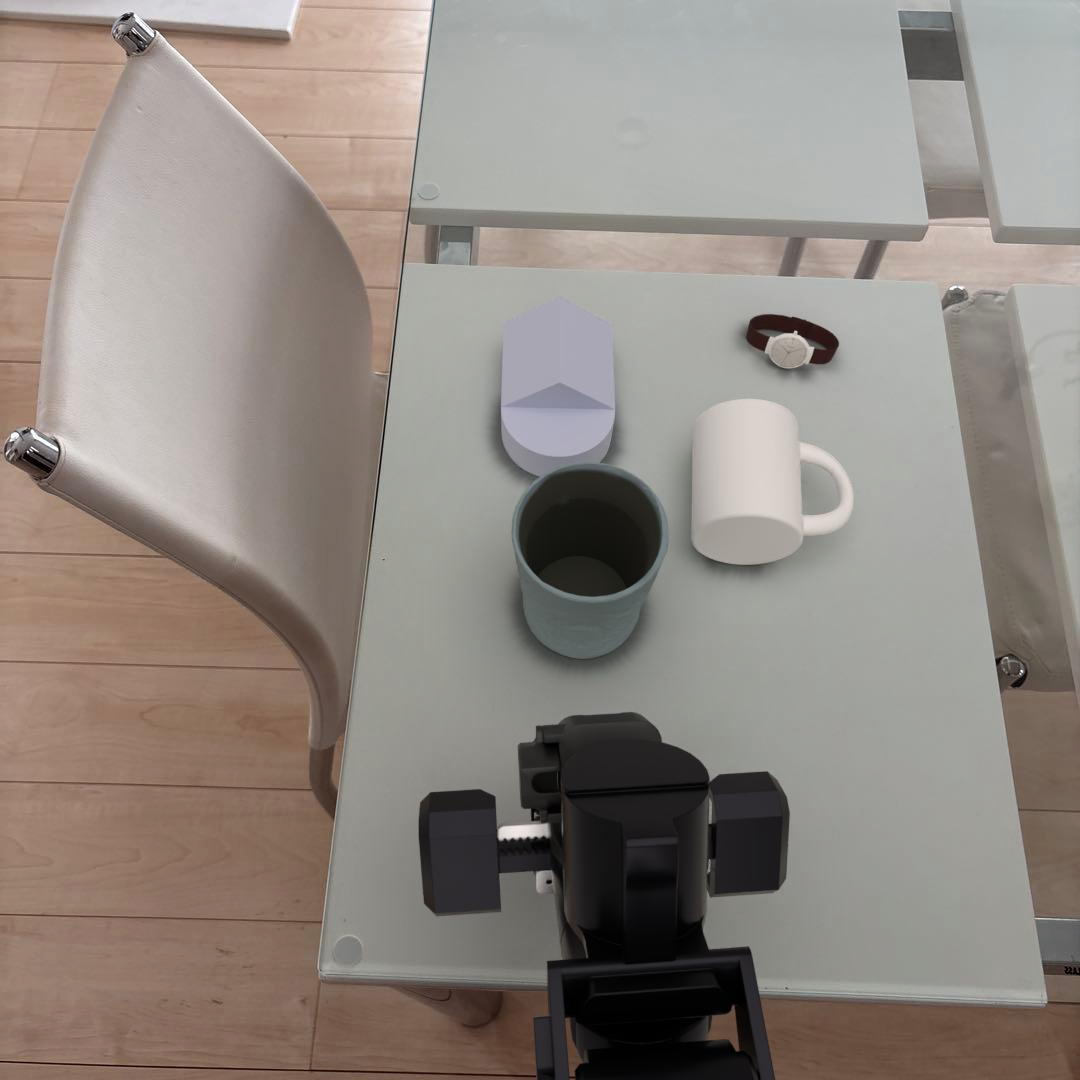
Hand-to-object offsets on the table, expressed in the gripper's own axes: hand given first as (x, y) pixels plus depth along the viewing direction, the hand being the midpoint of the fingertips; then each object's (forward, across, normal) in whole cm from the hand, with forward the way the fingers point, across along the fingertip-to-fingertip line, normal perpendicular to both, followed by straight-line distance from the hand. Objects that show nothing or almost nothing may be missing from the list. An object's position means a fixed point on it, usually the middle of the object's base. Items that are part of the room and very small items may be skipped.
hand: (585, 760), depth 57 cm
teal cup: (+16, -1, -4) cm, 16 cm away
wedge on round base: (+28, -1, -16) cm, 32 cm away
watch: (+32, -21, -20) cm, 43 cm away
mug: (+21, -16, -9) cm, 28 cm away
